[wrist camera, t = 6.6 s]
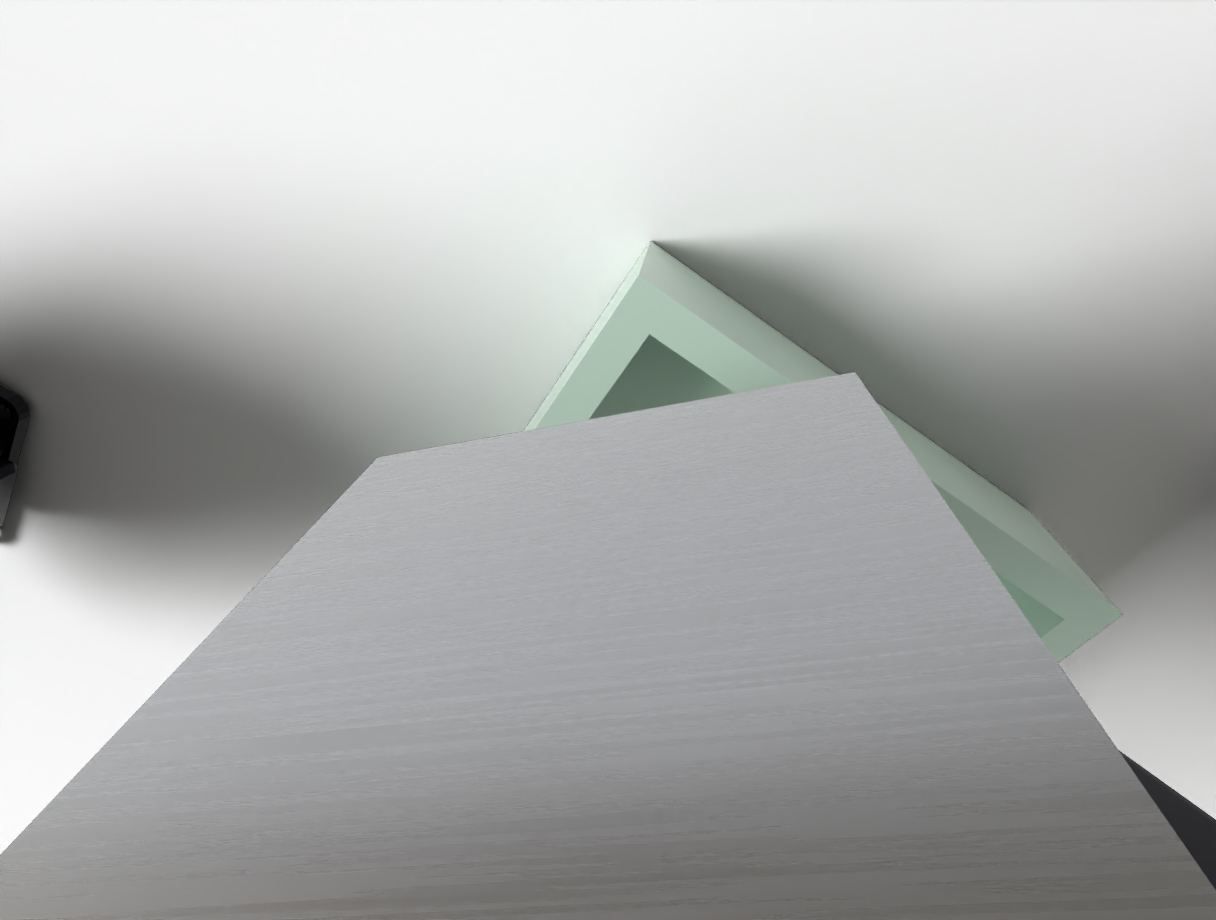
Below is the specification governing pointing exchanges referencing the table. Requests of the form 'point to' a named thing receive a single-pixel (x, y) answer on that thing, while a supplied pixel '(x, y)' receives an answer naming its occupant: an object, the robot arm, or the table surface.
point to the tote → (762, 357)
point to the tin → (620, 704)
